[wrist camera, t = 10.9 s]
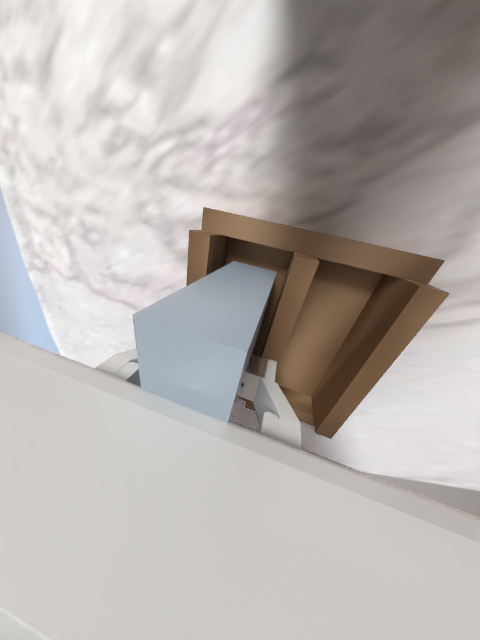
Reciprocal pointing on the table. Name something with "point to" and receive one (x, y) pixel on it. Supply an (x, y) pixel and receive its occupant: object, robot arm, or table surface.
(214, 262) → the rack
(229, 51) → the table surface
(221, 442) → the robot arm
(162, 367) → the tile
